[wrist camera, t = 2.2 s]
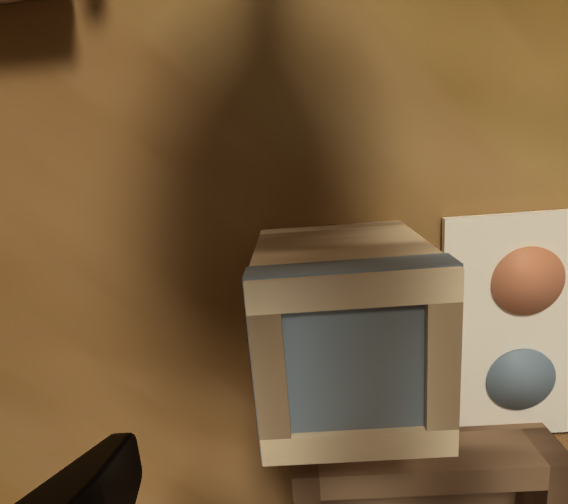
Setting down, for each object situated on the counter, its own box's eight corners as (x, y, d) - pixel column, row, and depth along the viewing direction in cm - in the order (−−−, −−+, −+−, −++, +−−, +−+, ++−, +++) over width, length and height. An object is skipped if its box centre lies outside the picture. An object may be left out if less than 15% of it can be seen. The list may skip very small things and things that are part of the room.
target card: (437, 433, 18) (441, 440, 17) (442, 217, 15) (445, 219, 15) (587, 425, 17) (593, 432, 17) (614, 205, 15) (623, 207, 15)
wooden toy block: (271, 355, 17) (260, 468, 11) (259, 228, 16) (240, 281, 10) (401, 347, 17) (460, 458, 11) (400, 218, 15) (467, 266, 10)
